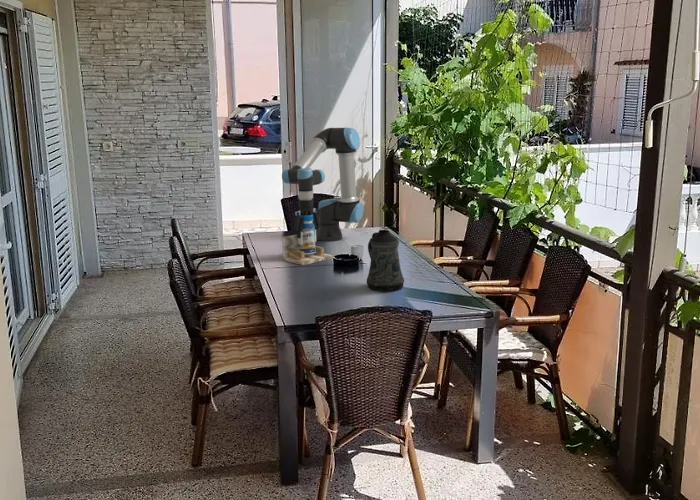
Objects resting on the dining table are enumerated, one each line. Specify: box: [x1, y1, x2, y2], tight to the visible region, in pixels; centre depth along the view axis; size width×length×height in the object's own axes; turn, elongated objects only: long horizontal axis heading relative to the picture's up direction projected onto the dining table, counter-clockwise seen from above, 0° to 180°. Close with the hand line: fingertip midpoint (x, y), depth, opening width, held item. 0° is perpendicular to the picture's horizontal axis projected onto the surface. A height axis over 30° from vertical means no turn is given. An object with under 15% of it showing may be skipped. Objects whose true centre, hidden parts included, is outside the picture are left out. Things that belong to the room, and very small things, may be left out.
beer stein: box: [366, 229, 405, 293], centre depth 299 cm, size 16×19×25 cm
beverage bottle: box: [300, 213, 316, 254], centre depth 352 cm, size 8×8×20 cm
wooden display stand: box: [281, 234, 333, 266], centre depth 353 cm, size 20×16×12 cm
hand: (307, 242), depth 353 cm, fingers closed on beverage bottle, 8 cm apart
